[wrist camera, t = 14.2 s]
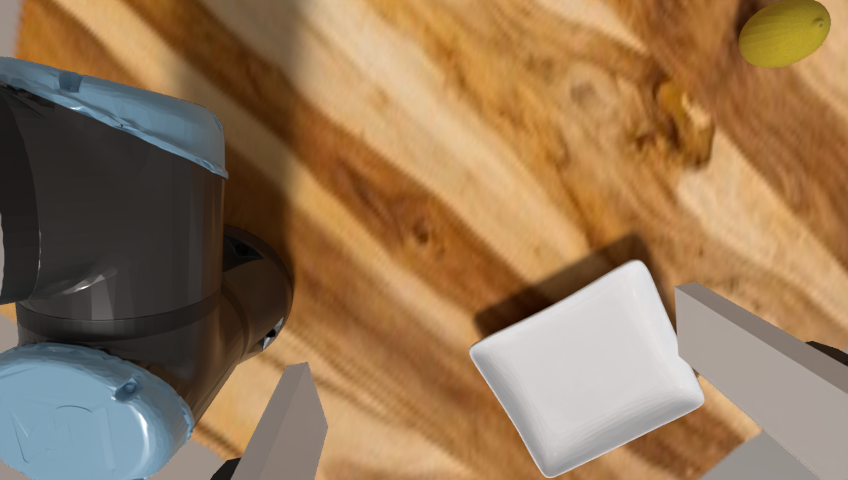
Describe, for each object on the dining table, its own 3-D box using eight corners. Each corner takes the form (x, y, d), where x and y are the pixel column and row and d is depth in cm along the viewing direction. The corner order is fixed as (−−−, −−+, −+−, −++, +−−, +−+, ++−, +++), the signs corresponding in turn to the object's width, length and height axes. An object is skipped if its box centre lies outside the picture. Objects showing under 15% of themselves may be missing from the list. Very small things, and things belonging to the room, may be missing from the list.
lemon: (718, 18, 42) (787, -5, 34) (775, 5, 42) (857, -21, 34) (720, 77, 44) (787, 68, 36) (775, 65, 44) (853, 53, 36)
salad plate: (693, 388, 54) (712, 405, 50) (539, 463, 56) (547, 484, 53) (627, 245, 48) (643, 255, 45) (460, 335, 51) (464, 350, 47)
